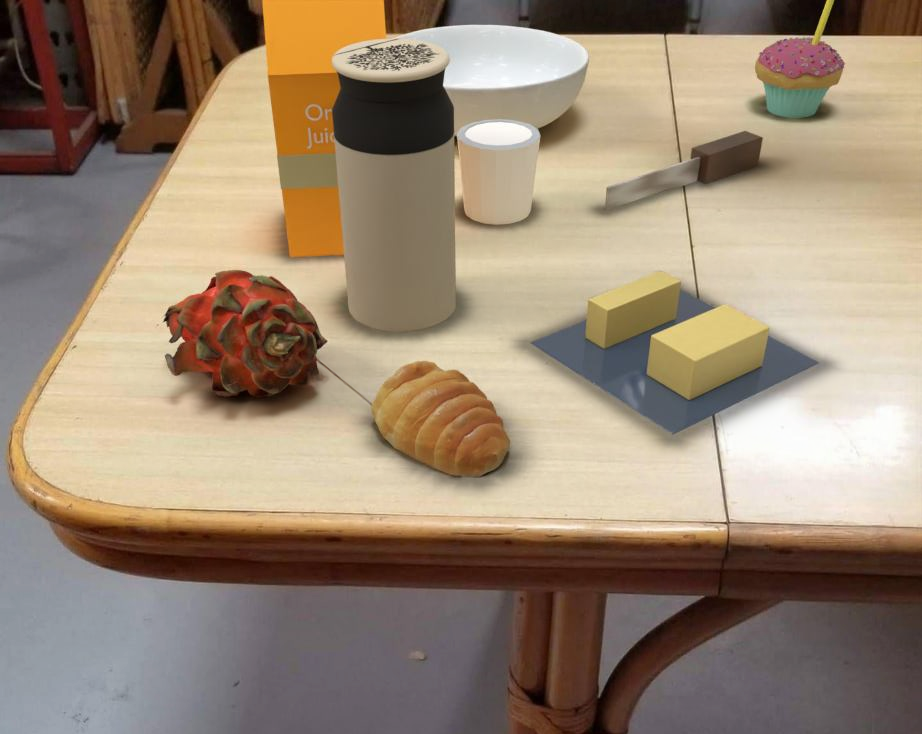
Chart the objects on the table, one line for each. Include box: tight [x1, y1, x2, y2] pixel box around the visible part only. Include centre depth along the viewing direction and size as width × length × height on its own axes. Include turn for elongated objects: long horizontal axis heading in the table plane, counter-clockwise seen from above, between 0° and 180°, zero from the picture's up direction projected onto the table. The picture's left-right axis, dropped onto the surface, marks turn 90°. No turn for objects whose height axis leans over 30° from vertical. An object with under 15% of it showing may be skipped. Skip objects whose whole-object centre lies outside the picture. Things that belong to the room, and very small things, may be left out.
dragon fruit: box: [156, 269, 328, 398], centre depth 70 cm, size 8×8×12 cm
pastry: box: [371, 360, 512, 478], centre depth 66 cm, size 9×7×4 cm
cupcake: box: [754, 0, 846, 119], centre depth 106 cm, size 9×8×12 cm
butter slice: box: [585, 270, 682, 349], centre depth 75 cm, size 7×2×3 cm, turn 127°
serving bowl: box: [393, 24, 590, 137], centre depth 106 cm, size 21×21×7 cm
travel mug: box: [332, 38, 457, 332], centre depth 74 cm, size 8×8×18 cm
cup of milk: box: [456, 119, 541, 226], centre depth 90 cm, size 7×7×7 cm
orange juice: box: [261, 0, 387, 258], centre depth 82 cm, size 8×9×20 cm
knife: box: [604, 130, 764, 211], centre depth 95 cm, size 18×2×3 cm, turn 127°
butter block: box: [647, 303, 771, 400], centre depth 71 cm, size 7×4×3 cm, turn 127°
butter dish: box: [529, 288, 820, 436], centre depth 74 cm, size 14×14×1 cm
